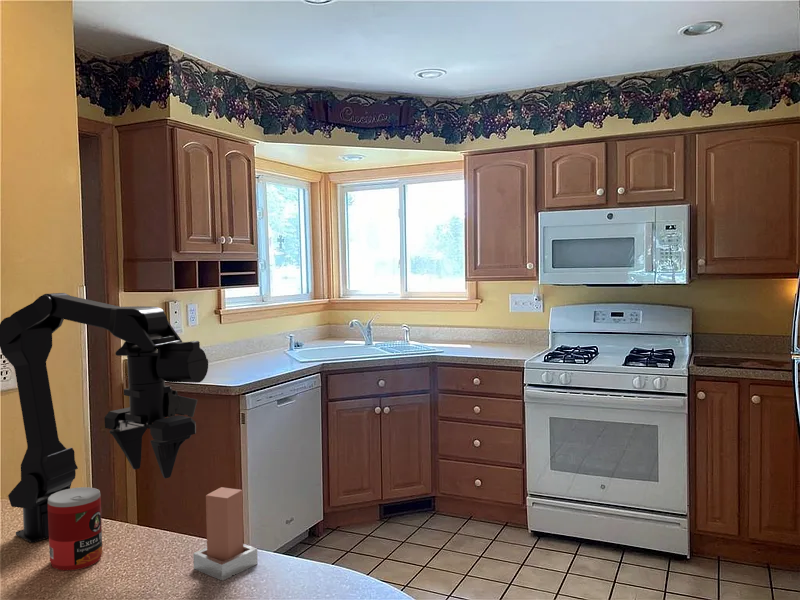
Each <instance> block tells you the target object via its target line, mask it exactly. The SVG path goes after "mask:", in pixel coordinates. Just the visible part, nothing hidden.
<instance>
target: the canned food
mask: <svg viewBox="0 0 800 600" xmlns="http://www.w3.org/2000/svg"><path fill="white" fill-rule="evenodd" d="M101 498H102V497H101V491H100V489H97V488H95V487H88V486H83V487H82V486H81V487H73V488H72V487H70V489H66V490H62V491H59V492H56V493H54V494H52V495H51V496H49V497H48V530H49V538H48V545H49V547H48V548H49V551H48V553H49V562H50V564H51V566H52V568H53V569H55V570H58V571H75V570H81V569H82V570H83V569H84V568H85V569H86V568H88V567H91V566H93V565H94V564H96V563H98V562H99V561H100V559H101V558H102V554H103V530H102V526H103V525H102V501H101V500H102V499H101Z"/></svg>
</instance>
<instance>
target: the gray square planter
mask: <svg viewBox="0 0 800 600" xmlns="http://www.w3.org/2000/svg"><path fill="white" fill-rule="evenodd" d="M243 550H244V552H243V553H241V554H239V555H237V556H234V557H232V558H230V559H228V560H226V561H223V562H222V561H220V560H217V559H215V558H212V557H210V556H207V547H204V548H203V549H201V550H198V551H195V552H193V553H192V554H193V556H192V557H193V569H194V570H195V571H199V572H201V573H202V574H205V575H208V576H210V577H213V578H215V579H217V580H219V579H220V581H221V580H223V581H224V579H225V580H227V579H229V578H232V577H233V576H232V575H234V576H235V574H236V575H237V574H240V573H241V572H244V571H246V570H248V569H251V568H252V567H254V566H256V565H258V548H257V547H254V546H251V545H248V544H245V543H243ZM228 577H229V578H228ZM226 578H227V579H226Z"/></svg>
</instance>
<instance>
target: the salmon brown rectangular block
mask: <svg viewBox="0 0 800 600" xmlns="http://www.w3.org/2000/svg"><path fill="white" fill-rule="evenodd" d="M243 508H244V507H243V490H242V489H238V488H230V487H223V486H221V487H219V488H217V489H216V490H213V491H211V492H209V493H208V494H206V495H205V511H206V512H205V513H206V514H205V516H206V519H205V520H206V548H207V556H210V557H212V558H215V559H217V560H220V561H222V562H223V561H226V560H228V559H230V558H232V557H234V556H237V555H239V554H241V553H243V552H244V550H243V544H244V515H243V514H244V512H243V511H244V510H243Z"/></svg>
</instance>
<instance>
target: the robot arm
mask: <svg viewBox="0 0 800 600" xmlns="http://www.w3.org/2000/svg"><path fill="white" fill-rule="evenodd" d="M64 320H66V321H70V322H74V323H79V324H84V325H88V326H92V327H96V328H101V329H104V330H106V331H108V332H109V333H111V335H113V337H115V338H117V339H119V340H122V341H124V342H123V344H122V346H120V347H119V348H118V349H117V350H116V351H115V356H117V357H127V358H126V359H127V378H128V388H124V389H123V396H128V398H129V400H128V401H129V407H125V408H124V407H123V408H120V409H115V410H110V411H108V412H107V413H106V415H105V416H104V417H103V419H104V429H107V430H109V434H110V435H112V437H113V438H114V440H115V441H116V443H117V445H118V446H119V448H120V449H121V451H122V453H124V456H125V458H126V459H127V461H128V462H129V464H130V466H131V468H132V469H133V470H139V469H141V465H142V464H141V463H142V446H143V444H142V443H143V437H144V435H145V433H146V432H147V429H149V431H150V436H151V437H152V440H150V444H151V447H152V450H153V453H154V455H155V459H156V461H157V465H158V467H159V470H160V473H161V474H162V477H163V479H168V478H171V476H172V472H173V469H174V467H175V463H176V459H177V456H178V453H179V450H180V447H181V445H182V444H183V443H184V442H185V441H186V440H189V439H191V437H192V436H193V435H196V434H197V422H196V421H195V419H193V418H194V415H195V411H196V407H197V404H198V399H196V398H190V397H186V396H181V395H179V394H178V391H177V390H173V389H172V386H171V385H166V383H191V384H193V383H195V384H196V383H197V384H198V383H201V382H203V380H204V379H205V378H206V376H207V373H208V371H209V359H208V358H207V355H206V353H205V351H204V349H202V348H201V346H200V345H201V343H200V341H199V340H191V341H183V340H182V338H181V337H180V336H179V334H178V333H177V332H176V330H175V329H174V328H173V326H172V325H171V323H170V321H169V319H168V316H167V314H166V313H165V311H164V310H163V309H162V308H161V307H158V306H144V305H143V306H141V305H140V306H138V305H137V306H118V305H113V304H109V303H105V302H101V301H95V300H91V299H87V298H83V297H78V296H73V295H70V294H67V293H65V292H53V293H44V294H42V295H40V296H39V297H37V298H36V299H35V300H34V301H33V302H31V303H30V304H28V305H26V306H24V307H22V308H21V309H20V308H19V310H17V311H15V312H13V313H12V314H11V315H10V316H7V317H5V318H3V319H2V320H1V321H0V351H1V353H2V355H3V356H4V358H5V359H6V360H7V361H8V362H9V364H10V365H11V366H12V367H13V369H14V372H15V373H14V374H15V378H16V379H15V380H16V384H17V390H18V397H19V403H20V410H21V415H22V422H23V428H24V433H25V439H26V447H27V448H26V450H25V452H24V455H23V458H22V461H21V462H20V463H21V464H20V481H18V483H17V484H16V485H15V486H14V487H13V489H12V490H11V491H10V492H9V494H8V495H7V497H8V500H9V503H10V506H11V507H12V508H19V509H20V508H21V509H22V519H23V529H21V530H17V531H16V532H15V536H17V537H19V538H21V539H23V540H26V541H28V542H29V543H36V542H39V541H42V540H45V539H46V540H47V539H49V530H48V497H49V496H51V495H52V494H54V493H56V492H59V491H62V490H66V489H71V488H72V487H71V486H72V483H73V481H74V480H75V479H76V470H78V466H77V463H76V458H75V456H76V455H75V450H74V448H73V447H68V448H67V447H66V446H65V445H64V444H63V443H62V442H61V441H60V439H59V433H58V428H57V421H56V416H55V410H54V404H53V398H52V397H53V396H52V391H51V385H50V380H49V373H48V368H47V360H48V359H49V356H50V353H51V350H52V349H53V334H54V333H55V332H56V331H57V330H58V329H59V328H60V327H62V325H63V323H64Z"/></svg>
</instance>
